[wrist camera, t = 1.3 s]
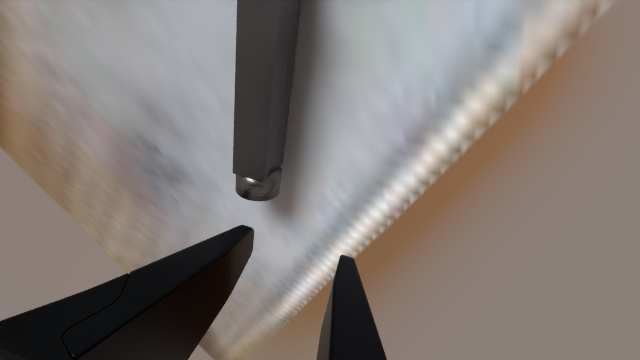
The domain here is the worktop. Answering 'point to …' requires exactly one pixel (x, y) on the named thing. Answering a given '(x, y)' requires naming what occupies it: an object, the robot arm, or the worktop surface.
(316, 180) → the worktop surface
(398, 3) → the worktop surface
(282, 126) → the folding leg
